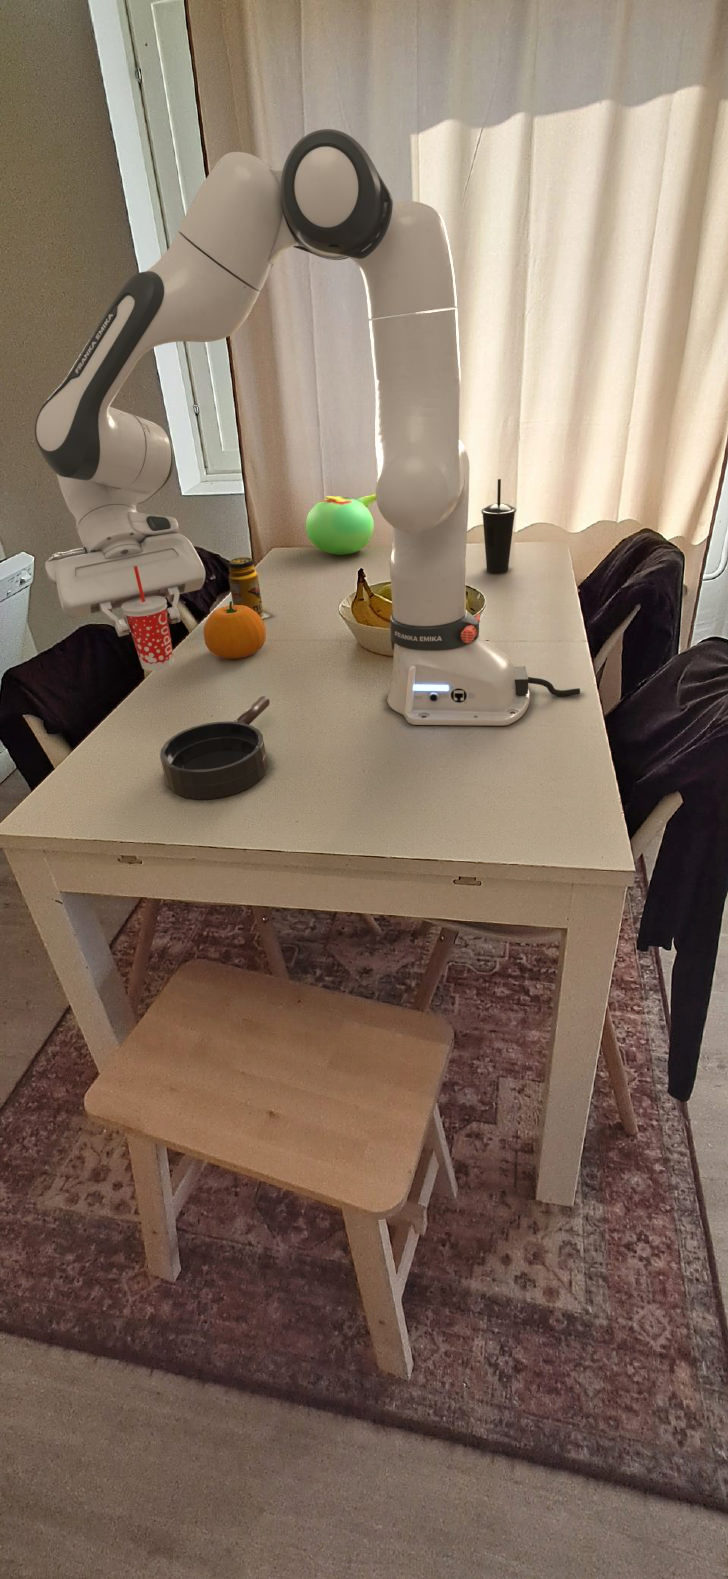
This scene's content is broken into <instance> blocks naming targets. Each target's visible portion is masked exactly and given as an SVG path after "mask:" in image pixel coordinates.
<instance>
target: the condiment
mask: <svg viewBox="0 0 728 1579" xmlns="http://www.w3.org/2000/svg"><path fill="white" fill-rule="evenodd" d="M227 566H228V572H229V574H228V582H229V587H230V594H231V601H232V605H244V606H247V607H249V608H250V609H252V610H254V611H255V612H256V613H257V614H258V615H259V616H260V617H261V619H262V620H263V619H266V618H269V617H271V615H270V614H268V613H266V612H264V609H263V601H262V595H261V589H260V583H259V574H258V572H257V571H256V567H255V561H254V559H253V558H252V557H248V556H247V557H246V556H245V557H236V558H232V559H230V560H229V561H228V563H227Z"/></svg>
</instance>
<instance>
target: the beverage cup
mask: <svg viewBox="0 0 728 1579" xmlns="http://www.w3.org/2000/svg"><path fill="white" fill-rule="evenodd" d="M134 571H135V575H136V579H137V584H138V588H139V592H140V596H141V597H139V598H135V599H132V600H129V601H127V602H125V603H123V604H122V606H121V608H120V609H121V610H122V614H123V615H125V619H126V621H127V625H128V626H129V629H130V634H131V637H132V640H133V643H134V647H135V650H136V652H137V656H138V660H139V663H140V665H141V668H142V670H145V671H150V672H152V671H154V672H155V671H161V670H165V669H168V668H170V667H171V666H172V665H174V663H175V658H174V651H173V645H172V638H171V632H170V623H169V619H168V617H167V611H166V610H167V608H168V604H167V603H168V599H166V597H165V598H164V597H161V596H144V594H143V589H142V585H141V581H140V576H139V572H138V568H137V566H134Z"/></svg>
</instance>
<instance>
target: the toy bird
mask: <svg viewBox="0 0 728 1579" xmlns="http://www.w3.org/2000/svg"><path fill="white" fill-rule="evenodd" d="M374 502H376V493H375V494H369V495H365V496H362V497H358V498H355V499H353V498H351V497H347V496H340V495H336V496H334V495H333V496H331V495H325V498H324V499H323V500H321V501H319V502H317V503H315V505H313V506H312V508H311V509H310V510H309V512H308V514H307V517H306V520H305V532H306V534H307V537H308V539H309V541H310V543H312V544H313V546H314V547H316V548H317V549H318V550H320V551H322V552H324V553H327V554H330V555H337V556H344V555H351V554H354V553H356V552H358V551H360V550H362V549H364V547H366V546H367V545H368V543H369V542H370V540H371V539H372V536H373V533H374V530H375V529H374V528H375V523H374V522H375V521H374V519H373V516H372V513H371V511H370V510H369V508H368V507H369V506H370V505H371V504H373V503H374Z"/></svg>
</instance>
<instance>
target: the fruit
mask: <svg viewBox="0 0 728 1579" xmlns="http://www.w3.org/2000/svg"><path fill="white" fill-rule="evenodd" d="M202 631H203V632H202V633H203V640H204V644H205V647H206V648H207V649H208V650H209V651H210V653H211V654H213V655H214V656H217V657H219V658H222V659H230V660H237V659H243V658H246V657H250V656H252V655H254V654H255V653H257V652H258V651H259V650H261V649H262V647H263V646H264V644H265V642H266V639H267V629H266V625H265V624H264V621H263V619H261V617H260V616H259V615H258V614H257V613H256V612H255V611H254V610H252V609H250V608H249V607H247V606H244V605H233V601H232V600H230V601H229V605H225V606H222V607H219V608H216V609H214V610H213V611H212V612H211V614H210V615H209V617H208V618H207V619H206V621H205V623H204V626H203V629H202Z"/></svg>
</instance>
